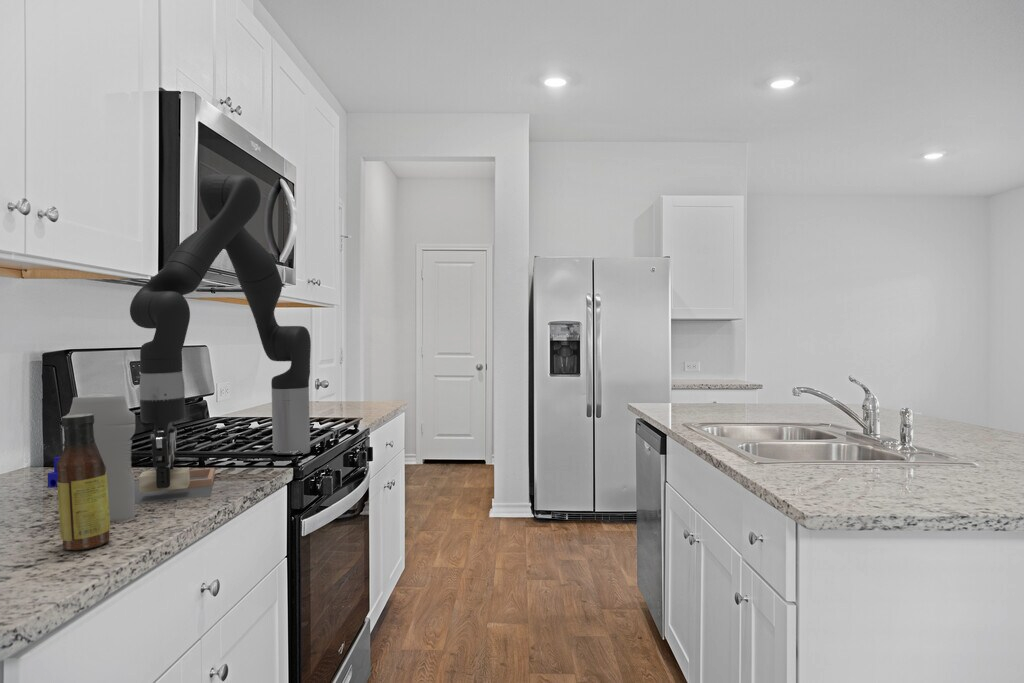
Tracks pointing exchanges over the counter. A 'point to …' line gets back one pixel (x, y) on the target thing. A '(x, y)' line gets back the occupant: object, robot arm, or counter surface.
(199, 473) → the frame
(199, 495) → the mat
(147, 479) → the beige rectangular prism
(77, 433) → the sauce bottle
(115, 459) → the tall pale column
